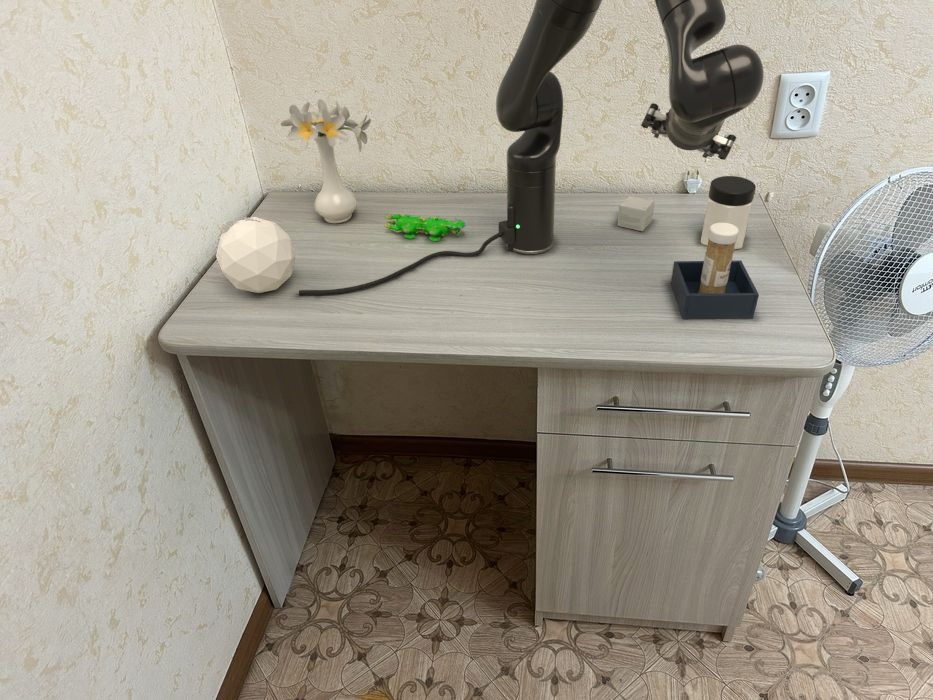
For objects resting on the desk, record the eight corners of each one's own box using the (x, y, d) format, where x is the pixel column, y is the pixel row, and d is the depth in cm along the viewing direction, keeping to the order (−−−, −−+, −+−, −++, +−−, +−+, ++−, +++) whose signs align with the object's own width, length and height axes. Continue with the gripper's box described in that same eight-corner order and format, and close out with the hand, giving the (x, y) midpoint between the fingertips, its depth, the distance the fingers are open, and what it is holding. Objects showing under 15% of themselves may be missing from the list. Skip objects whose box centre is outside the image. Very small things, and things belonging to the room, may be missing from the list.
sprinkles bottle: (723, 306, 117) (739, 235, 109) (696, 302, 118) (709, 232, 110) (724, 292, 121) (739, 222, 112) (697, 288, 122) (710, 220, 114)
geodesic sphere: (195, 288, 120) (229, 222, 115) (198, 251, 131) (229, 188, 126) (275, 318, 128) (311, 257, 123) (272, 280, 139) (304, 222, 134)
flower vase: (379, 228, 148) (363, 112, 133) (295, 232, 149) (269, 116, 134) (384, 202, 159) (370, 91, 143) (305, 205, 159) (283, 96, 144)
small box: (652, 221, 145) (655, 199, 142) (642, 232, 141) (645, 210, 138) (627, 215, 147) (629, 194, 144) (616, 226, 143) (618, 205, 140)
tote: (682, 319, 116) (686, 295, 113) (670, 284, 125) (673, 261, 122) (753, 318, 115) (759, 294, 112) (736, 283, 124) (741, 260, 121)
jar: (753, 241, 136) (767, 184, 128) (729, 256, 132) (741, 198, 124) (714, 226, 141) (725, 171, 134) (690, 239, 137) (700, 183, 130)
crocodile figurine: (462, 245, 140) (460, 226, 138) (380, 237, 145) (377, 219, 142) (470, 230, 145) (469, 212, 143) (391, 223, 150) (389, 205, 147)
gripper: (755, 111, 96) (733, 136, 112) (660, 73, 98) (652, 103, 114) (730, 162, 97) (712, 179, 113) (637, 123, 99) (632, 146, 115)
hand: (682, 141), depth 113 cm, fingers open, 8 cm apart
